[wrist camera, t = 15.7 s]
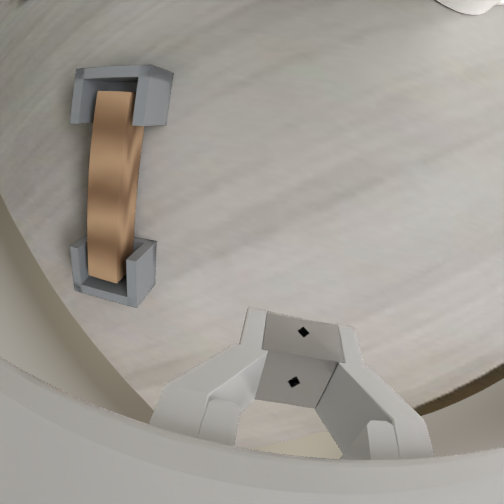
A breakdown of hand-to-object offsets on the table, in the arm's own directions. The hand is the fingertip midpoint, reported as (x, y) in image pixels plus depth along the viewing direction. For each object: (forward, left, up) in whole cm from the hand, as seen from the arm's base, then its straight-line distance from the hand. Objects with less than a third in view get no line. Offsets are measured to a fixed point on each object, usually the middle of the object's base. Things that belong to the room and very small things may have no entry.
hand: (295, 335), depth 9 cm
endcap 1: (-7, -19, -27) cm, 33 cm away
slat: (+3, -19, -26) cm, 32 cm away
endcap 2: (+13, -19, -27) cm, 35 cm away
